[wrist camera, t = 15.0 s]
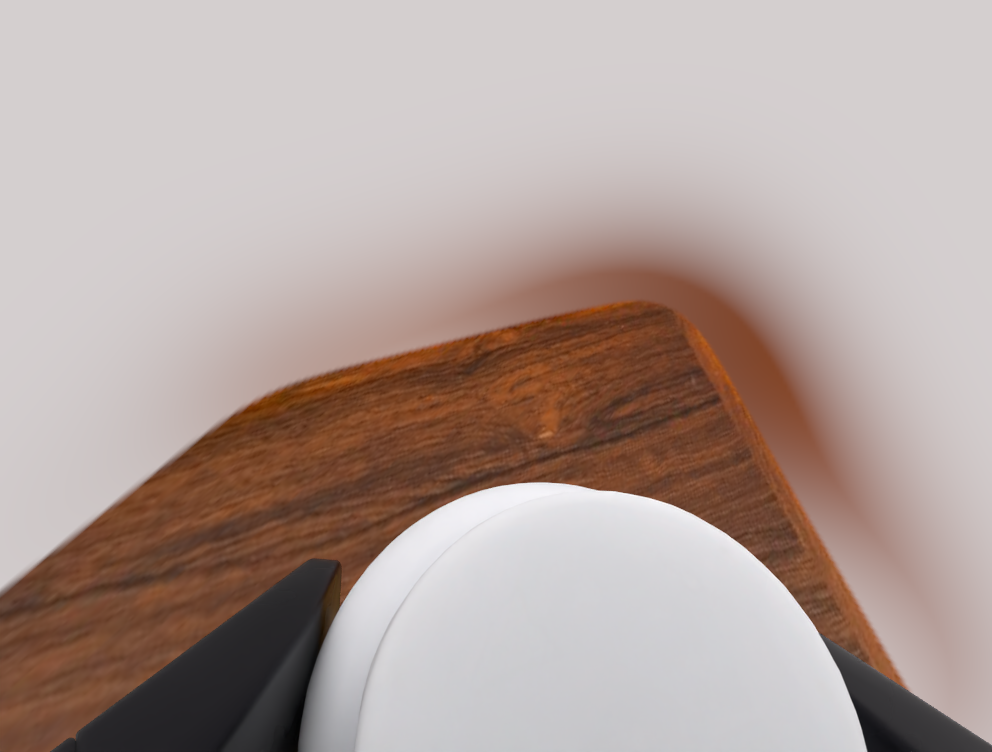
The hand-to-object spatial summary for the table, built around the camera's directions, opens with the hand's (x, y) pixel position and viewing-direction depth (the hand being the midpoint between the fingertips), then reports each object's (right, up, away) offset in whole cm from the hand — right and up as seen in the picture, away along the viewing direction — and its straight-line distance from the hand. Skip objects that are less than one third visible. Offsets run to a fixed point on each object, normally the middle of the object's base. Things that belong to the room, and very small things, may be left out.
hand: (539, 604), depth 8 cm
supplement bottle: (-1, -4, +5) cm, 7 cm away
